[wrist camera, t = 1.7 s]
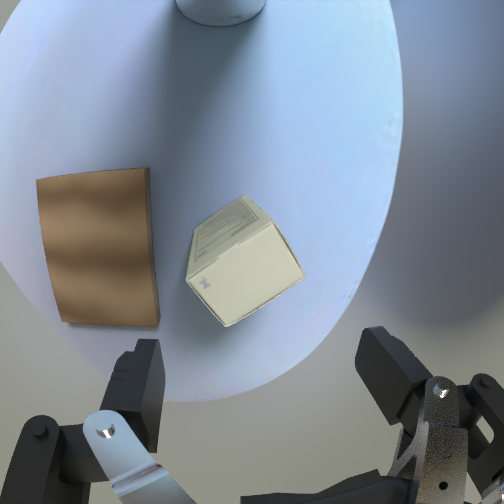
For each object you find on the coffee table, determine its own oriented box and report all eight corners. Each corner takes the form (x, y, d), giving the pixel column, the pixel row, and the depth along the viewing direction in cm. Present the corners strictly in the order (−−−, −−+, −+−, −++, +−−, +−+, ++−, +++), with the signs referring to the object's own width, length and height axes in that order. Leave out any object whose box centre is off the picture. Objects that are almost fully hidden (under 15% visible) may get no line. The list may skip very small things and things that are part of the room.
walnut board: (45, 177, 24) (36, 179, 22) (149, 167, 25) (144, 168, 23) (68, 313, 29) (61, 321, 27) (160, 316, 30) (157, 326, 28)
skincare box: (218, 262, 29) (222, 333, 18) (192, 227, 28) (178, 282, 16) (271, 227, 29) (310, 278, 17) (248, 190, 27) (274, 219, 16)
